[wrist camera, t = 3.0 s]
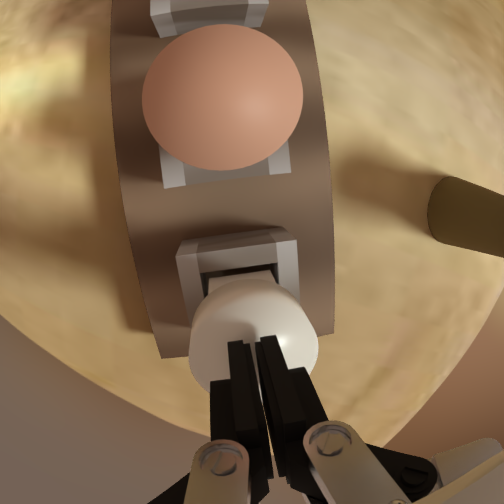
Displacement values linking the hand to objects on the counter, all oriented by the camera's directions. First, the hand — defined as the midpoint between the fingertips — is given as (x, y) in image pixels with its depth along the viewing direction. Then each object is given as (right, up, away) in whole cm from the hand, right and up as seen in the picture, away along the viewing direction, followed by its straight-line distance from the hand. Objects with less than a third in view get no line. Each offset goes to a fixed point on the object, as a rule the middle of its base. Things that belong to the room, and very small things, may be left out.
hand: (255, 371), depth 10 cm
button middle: (-2, +10, +3) cm, 11 cm away
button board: (-2, +12, +8) cm, 14 cm away
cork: (+17, +8, +12) cm, 22 cm away
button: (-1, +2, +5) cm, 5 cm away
